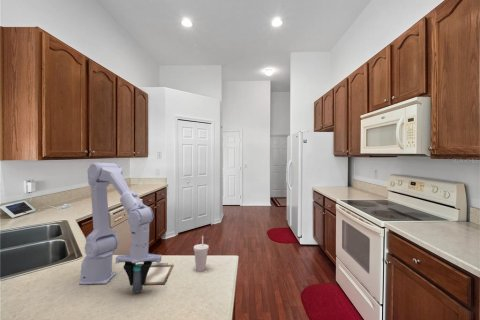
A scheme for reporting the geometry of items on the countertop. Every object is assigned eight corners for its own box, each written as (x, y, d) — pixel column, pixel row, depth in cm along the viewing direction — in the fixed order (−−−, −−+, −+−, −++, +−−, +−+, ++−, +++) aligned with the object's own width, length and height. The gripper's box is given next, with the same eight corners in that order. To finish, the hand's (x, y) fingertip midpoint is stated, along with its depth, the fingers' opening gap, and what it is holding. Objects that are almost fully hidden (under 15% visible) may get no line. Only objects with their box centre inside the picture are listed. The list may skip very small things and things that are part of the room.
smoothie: (204, 274, 89) (206, 239, 90) (190, 272, 90) (191, 237, 91) (210, 267, 95) (211, 234, 96) (196, 265, 97) (197, 233, 97)
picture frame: (130, 285, 79) (130, 282, 79) (145, 266, 95) (145, 263, 95) (164, 284, 80) (164, 281, 80) (173, 265, 96) (173, 262, 96)
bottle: (130, 292, 73) (131, 268, 74) (134, 287, 77) (135, 263, 77) (140, 292, 74) (142, 268, 74) (144, 286, 77) (145, 263, 77)
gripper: (112, 247, 71) (109, 290, 70) (158, 247, 72) (156, 289, 72) (121, 240, 78) (119, 279, 77) (163, 240, 79) (161, 278, 79)
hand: (137, 283), depth 75 cm, fingers closed on bottle, 3 cm apart
